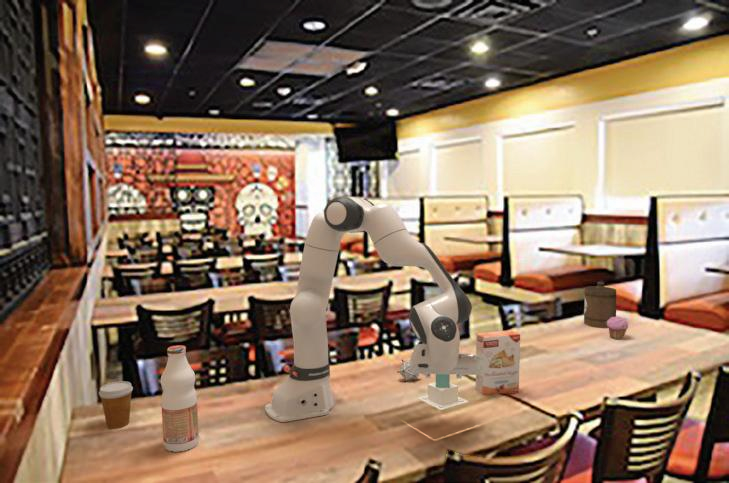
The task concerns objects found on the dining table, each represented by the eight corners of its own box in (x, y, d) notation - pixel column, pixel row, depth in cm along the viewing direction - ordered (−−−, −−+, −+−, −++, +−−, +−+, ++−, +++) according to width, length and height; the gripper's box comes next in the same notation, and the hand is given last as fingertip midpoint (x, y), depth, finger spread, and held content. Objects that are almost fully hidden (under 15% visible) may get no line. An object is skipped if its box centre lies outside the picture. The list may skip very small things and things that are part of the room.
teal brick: (449, 387, 177) (449, 363, 176) (435, 387, 177) (435, 363, 177) (449, 382, 181) (449, 359, 180) (435, 382, 182) (435, 359, 181)
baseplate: (440, 412, 172) (440, 409, 172) (417, 400, 182) (417, 397, 182) (468, 403, 178) (468, 400, 178) (444, 392, 188) (444, 389, 188)
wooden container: (592, 319, 286) (593, 277, 284) (621, 324, 275) (622, 281, 272) (578, 324, 276) (579, 281, 274) (607, 329, 265) (608, 285, 263)
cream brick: (441, 405, 175) (441, 390, 175) (427, 398, 181) (427, 384, 180) (458, 400, 179) (458, 386, 178) (444, 394, 185) (444, 379, 184)
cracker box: (483, 397, 183) (483, 337, 181) (474, 391, 189) (475, 332, 187) (520, 393, 187) (520, 333, 184) (510, 386, 192) (511, 329, 190)
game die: (414, 392, 199) (421, 376, 192) (392, 382, 200) (398, 366, 194) (420, 373, 206) (427, 357, 199) (399, 364, 207) (405, 348, 200)
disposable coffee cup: (125, 415, 174) (123, 378, 173) (140, 422, 168) (138, 385, 167) (95, 425, 167) (92, 387, 165) (110, 434, 160) (107, 394, 159)
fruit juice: (174, 456, 146) (168, 355, 143) (157, 445, 153) (152, 348, 150) (205, 444, 153) (200, 347, 150) (188, 434, 160) (183, 340, 157)
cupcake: (602, 336, 253) (602, 315, 252) (617, 334, 256) (618, 313, 255) (616, 341, 245) (617, 319, 244) (632, 339, 247) (632, 318, 246)
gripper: (479, 345, 159) (476, 367, 170) (409, 344, 162) (411, 366, 172) (480, 365, 155) (478, 386, 166) (408, 364, 158) (410, 384, 168)
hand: (443, 376), depth 169 cm, fingers open, 8 cm apart
